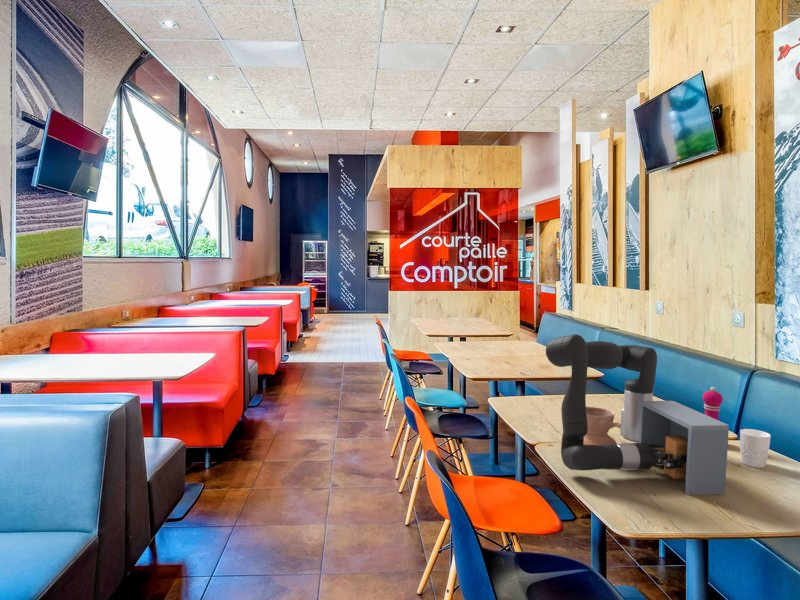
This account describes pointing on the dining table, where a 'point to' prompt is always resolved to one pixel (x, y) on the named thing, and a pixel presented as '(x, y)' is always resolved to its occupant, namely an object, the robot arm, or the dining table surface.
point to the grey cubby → (689, 442)
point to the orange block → (676, 447)
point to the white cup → (754, 447)
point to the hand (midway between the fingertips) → (686, 455)
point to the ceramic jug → (599, 426)
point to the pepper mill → (712, 403)
